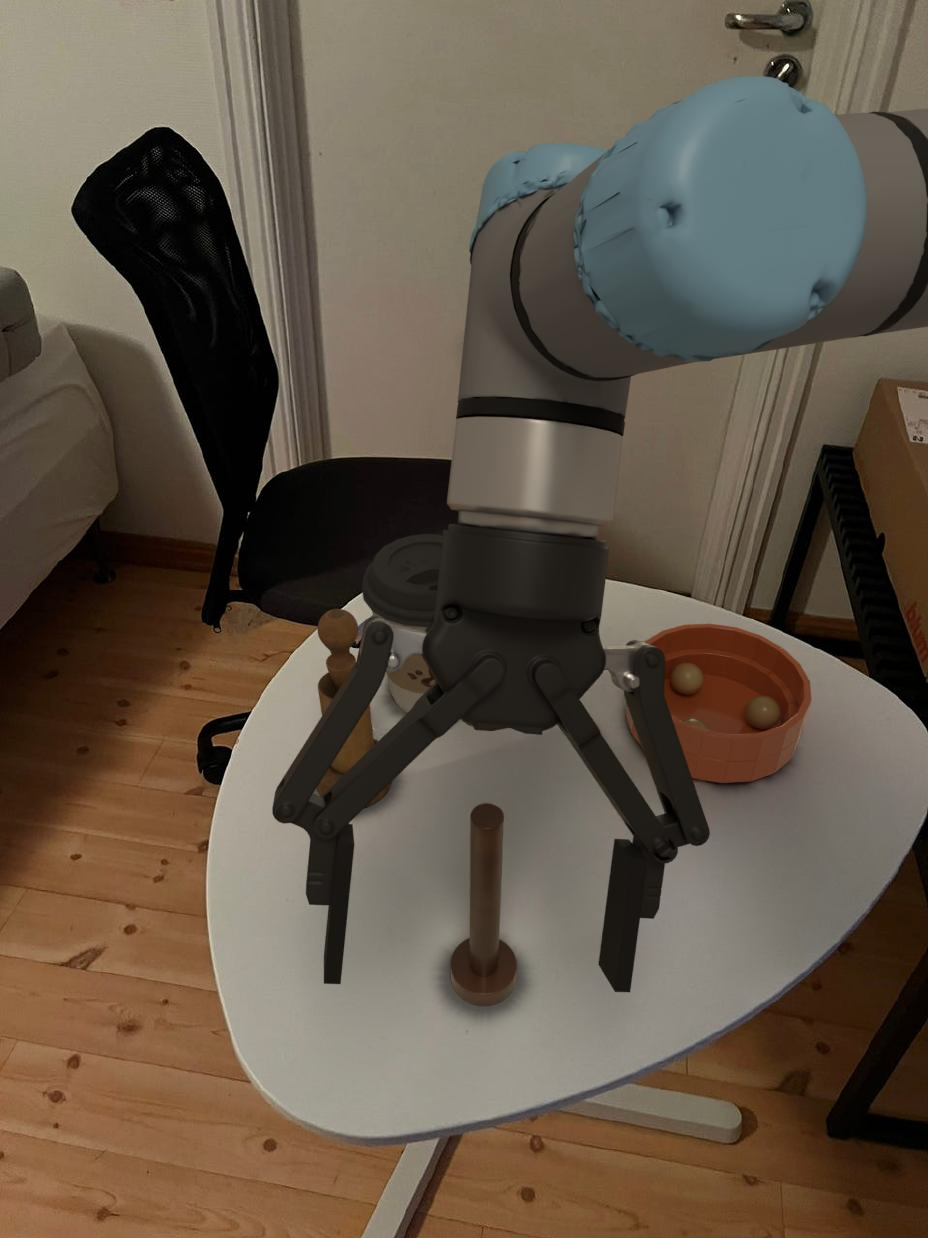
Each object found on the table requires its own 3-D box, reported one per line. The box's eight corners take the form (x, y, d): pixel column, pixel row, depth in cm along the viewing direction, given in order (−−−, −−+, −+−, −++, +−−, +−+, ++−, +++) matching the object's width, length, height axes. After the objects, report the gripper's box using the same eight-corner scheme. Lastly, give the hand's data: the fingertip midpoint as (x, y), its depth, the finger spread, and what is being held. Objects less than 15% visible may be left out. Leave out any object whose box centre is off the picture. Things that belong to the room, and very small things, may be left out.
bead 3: (783, 730, 84) (790, 706, 82) (755, 739, 83) (762, 715, 81) (762, 709, 86) (769, 685, 84) (735, 718, 85) (741, 693, 83)
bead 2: (713, 753, 81) (719, 729, 80) (684, 763, 80) (689, 738, 79) (694, 731, 84) (699, 706, 82) (665, 740, 83) (670, 715, 81)
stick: (527, 992, 64) (539, 832, 54) (465, 1016, 63) (466, 857, 53) (499, 938, 68) (506, 777, 57) (441, 959, 66) (436, 799, 56)
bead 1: (707, 696, 87) (712, 672, 85) (679, 704, 86) (684, 680, 84) (689, 676, 89) (694, 652, 88) (662, 684, 89) (666, 660, 87)
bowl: (832, 759, 82) (849, 709, 78) (684, 810, 77) (695, 759, 74) (730, 656, 93) (741, 608, 89) (595, 695, 88) (601, 647, 85)
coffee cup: (388, 747, 83) (379, 613, 74) (357, 668, 92) (345, 540, 82) (507, 718, 86) (512, 585, 77) (466, 644, 95) (466, 517, 85)
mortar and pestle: (312, 758, 82) (289, 593, 71) (386, 747, 83) (374, 583, 72) (319, 816, 77) (295, 648, 66) (397, 804, 78) (386, 636, 67)
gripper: (748, 550, 48) (693, 946, 50) (251, 496, 44) (215, 928, 46) (826, 558, 40) (758, 1022, 42) (237, 493, 36) (194, 1009, 38)
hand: (476, 975), depth 44 cm, fingers open, 13 cm apart
